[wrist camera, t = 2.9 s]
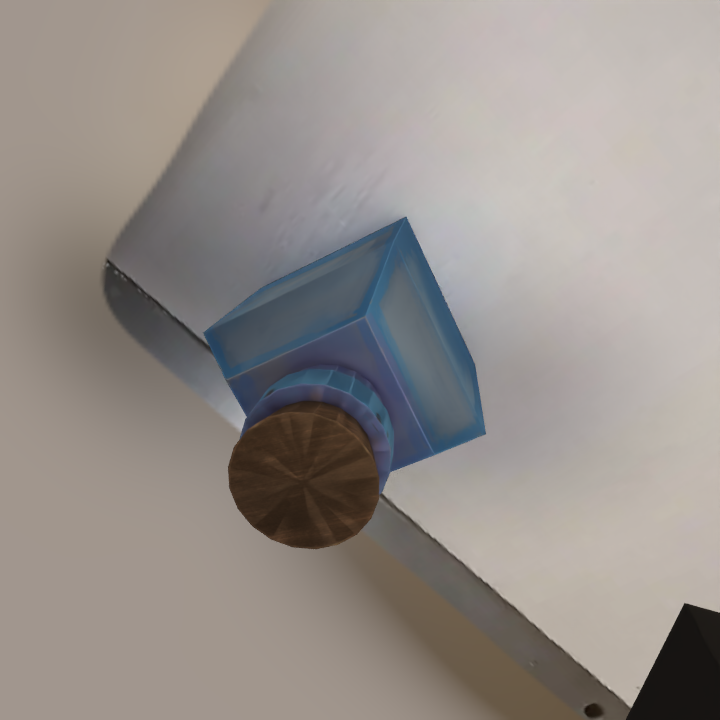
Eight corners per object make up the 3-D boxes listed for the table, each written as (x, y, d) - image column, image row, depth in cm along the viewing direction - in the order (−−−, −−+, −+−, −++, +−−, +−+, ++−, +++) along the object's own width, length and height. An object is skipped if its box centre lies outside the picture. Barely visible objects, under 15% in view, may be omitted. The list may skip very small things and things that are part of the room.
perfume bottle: (333, 423, 26) (248, 640, 14) (260, 288, 24) (102, 410, 13) (475, 364, 24) (505, 555, 13) (406, 216, 23) (371, 284, 11)
